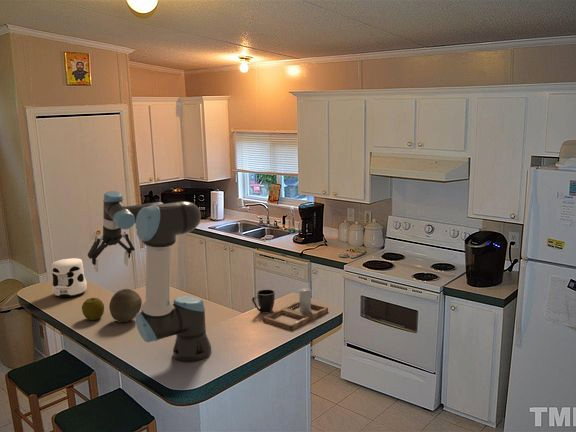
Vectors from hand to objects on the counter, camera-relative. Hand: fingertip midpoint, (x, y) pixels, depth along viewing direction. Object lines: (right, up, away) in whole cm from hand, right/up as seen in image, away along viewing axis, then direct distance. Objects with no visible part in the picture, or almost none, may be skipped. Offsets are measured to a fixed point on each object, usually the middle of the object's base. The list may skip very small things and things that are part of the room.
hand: (111, 267), depth 236 cm
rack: (+83, -24, +10) cm, 87 cm away
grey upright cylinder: (+88, -23, +15) cm, 92 cm away
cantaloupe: (+4, -26, +11) cm, 29 cm away
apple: (-13, -26, +14) cm, 32 cm away
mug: (+68, -23, +17) cm, 73 cm away
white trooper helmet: (-39, -20, +50) cm, 66 cm away
